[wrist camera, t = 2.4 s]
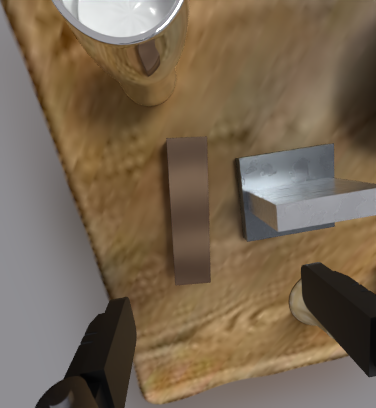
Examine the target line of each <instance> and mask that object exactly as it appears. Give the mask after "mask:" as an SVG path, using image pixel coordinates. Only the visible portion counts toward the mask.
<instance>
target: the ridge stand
mask: <svg viewBox="0 0 376 408" xmlns="http://www.w3.org/2000/svg"><path fill="white" fill-rule="evenodd" d="M236 168H237V178H238V187H239V197H240V207H241V216H242V226H243V236H244V238H245V239H246V240H247V242H248V241H254V240H260V239H266V238H271V237H277V236H283V235H289V234H294V233H300V232H306V231H312V230H317V229H323V228H329V227H335V222H338V221H344V220H350V219H356V218H361V217H367V216H373V215H376V184H374V183H367V182H360V181H353V180H345V179H338V178H334V144H323V145H316V146H310V147H304V148H297V149H291V150H285V151H278V152H272V153H266V154H259V155H253V156H247V157H240V158H236Z"/></svg>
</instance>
